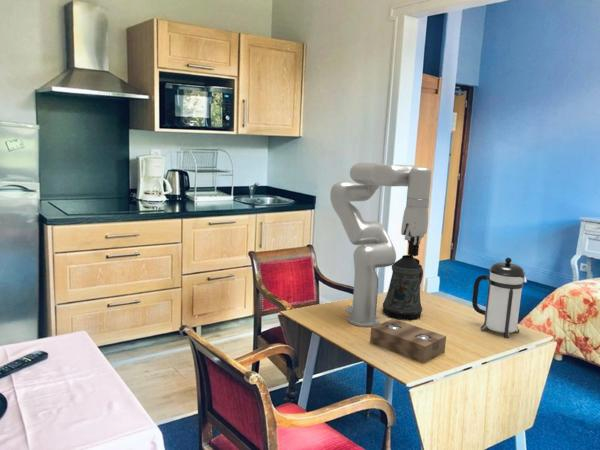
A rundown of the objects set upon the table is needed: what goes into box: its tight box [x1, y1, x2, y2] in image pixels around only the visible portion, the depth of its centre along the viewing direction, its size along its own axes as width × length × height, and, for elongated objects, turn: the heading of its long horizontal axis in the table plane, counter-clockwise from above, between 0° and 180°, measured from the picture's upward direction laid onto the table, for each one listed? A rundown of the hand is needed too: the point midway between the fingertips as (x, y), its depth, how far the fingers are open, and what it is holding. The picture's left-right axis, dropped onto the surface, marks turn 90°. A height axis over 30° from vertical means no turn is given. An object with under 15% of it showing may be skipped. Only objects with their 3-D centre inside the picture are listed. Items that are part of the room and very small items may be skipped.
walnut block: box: [369, 318, 447, 365], centre depth 181 cm, size 22×14×6 cm, turn 46°
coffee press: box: [471, 257, 527, 339], centre depth 201 cm, size 17×16×30 cm
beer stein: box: [382, 254, 424, 321], centre depth 217 cm, size 16×19×25 cm
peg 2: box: [417, 335, 429, 340], centre depth 177 cm, size 4×4×6 cm
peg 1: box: [388, 325, 399, 330], centre depth 185 cm, size 4×4×6 cm
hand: (412, 255), depth 179 cm, fingers closed
